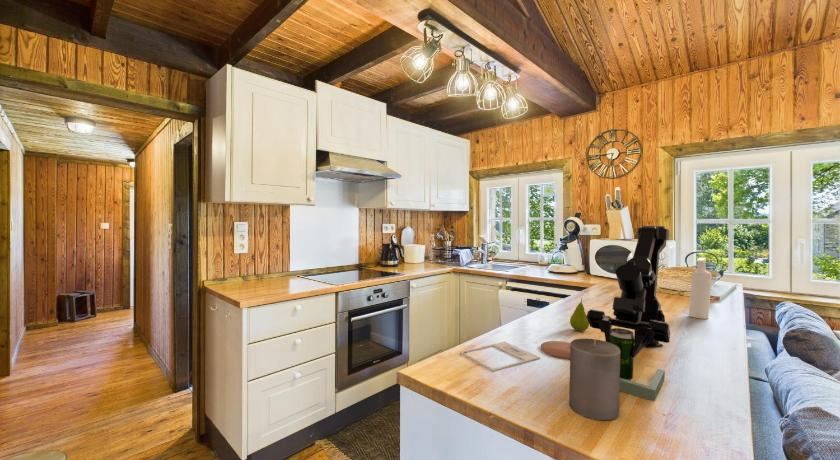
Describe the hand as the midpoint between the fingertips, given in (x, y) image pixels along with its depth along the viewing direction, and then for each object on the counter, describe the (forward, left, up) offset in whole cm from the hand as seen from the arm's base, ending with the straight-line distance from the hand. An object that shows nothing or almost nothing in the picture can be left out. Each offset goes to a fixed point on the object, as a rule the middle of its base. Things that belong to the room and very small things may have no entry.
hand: (620, 353), depth 89 cm
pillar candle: (+17, +10, -7) cm, 21 cm away
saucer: (+2, -20, -7) cm, 21 cm away
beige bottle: (-80, -40, -7) cm, 90 cm away
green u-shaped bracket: (0, 0, -7) cm, 7 cm away
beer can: (-1, -1, -7) cm, 7 cm away
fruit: (-17, -36, -7) cm, 40 cm away
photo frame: (+23, -21, -7) cm, 32 cm away
